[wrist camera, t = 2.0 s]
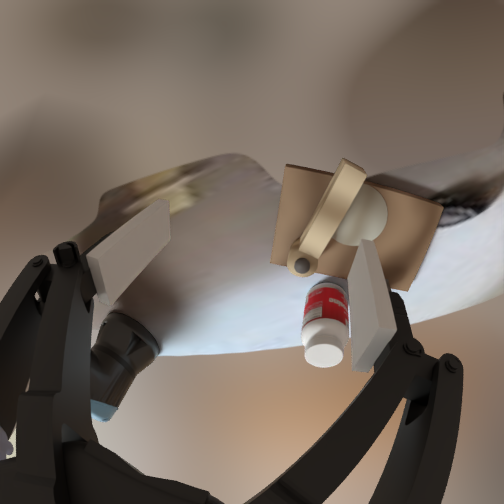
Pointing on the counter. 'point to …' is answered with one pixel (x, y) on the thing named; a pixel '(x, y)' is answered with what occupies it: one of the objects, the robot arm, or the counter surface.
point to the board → (358, 226)
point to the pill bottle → (325, 325)
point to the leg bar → (325, 219)
